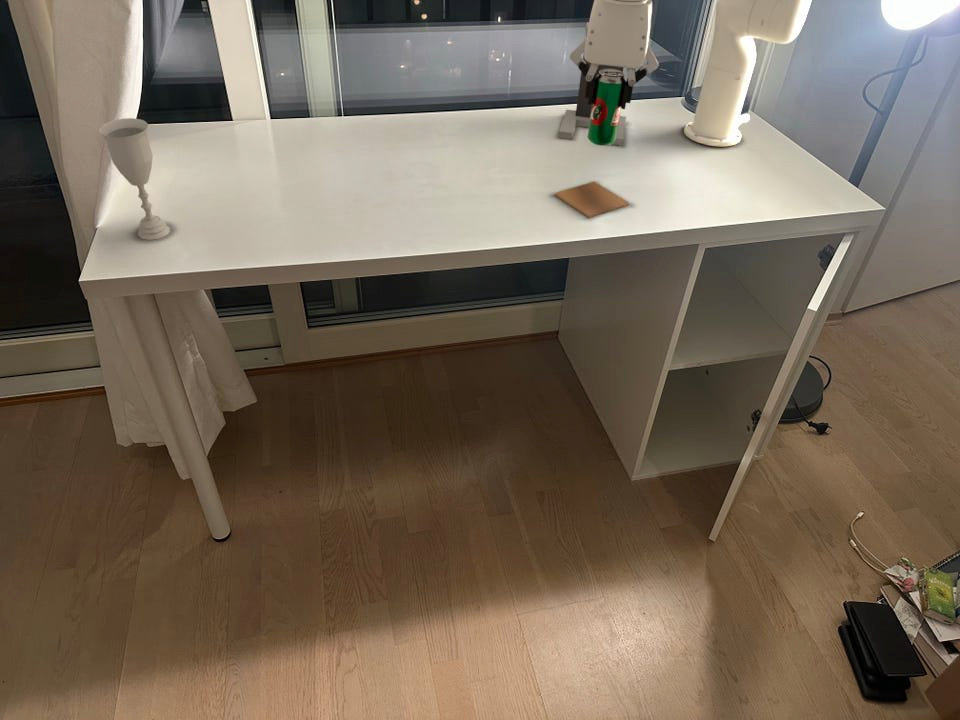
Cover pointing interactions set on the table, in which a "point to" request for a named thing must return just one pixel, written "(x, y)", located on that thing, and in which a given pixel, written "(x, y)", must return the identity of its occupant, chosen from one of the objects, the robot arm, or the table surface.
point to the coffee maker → (587, 110)
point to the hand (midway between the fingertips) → (606, 103)
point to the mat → (591, 199)
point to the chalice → (134, 166)
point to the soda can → (606, 106)
